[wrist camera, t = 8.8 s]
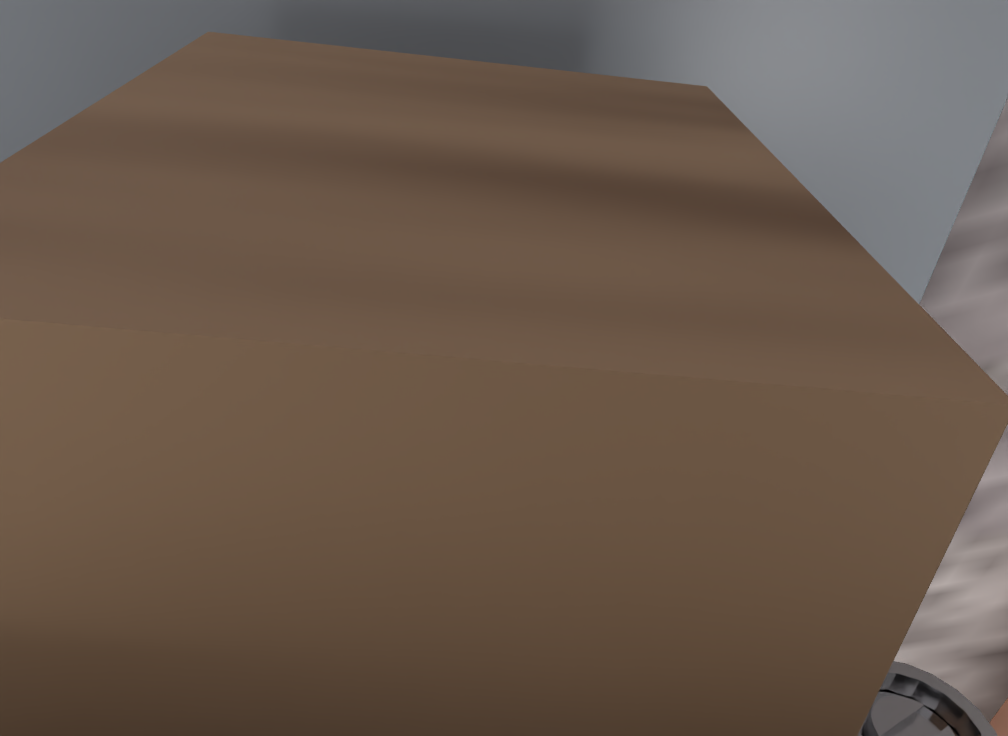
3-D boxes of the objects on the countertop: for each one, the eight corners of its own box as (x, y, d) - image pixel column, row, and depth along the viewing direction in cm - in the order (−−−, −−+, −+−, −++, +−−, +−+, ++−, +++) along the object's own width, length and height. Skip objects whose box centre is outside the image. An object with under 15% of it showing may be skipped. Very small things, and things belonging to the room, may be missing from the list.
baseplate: (-82, -332, 10) (-136, -349, 9) (1058, -133, 11) (1105, -132, 10) (57, 567, 17) (34, 605, 16) (749, 631, 18) (762, 670, 17)
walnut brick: (207, 31, 9) (-220, 300, 3) (706, 85, 9) (1018, 405, 4) (245, 663, 13) (87, 1194, 8) (575, 683, 13) (632, 1204, 8)
